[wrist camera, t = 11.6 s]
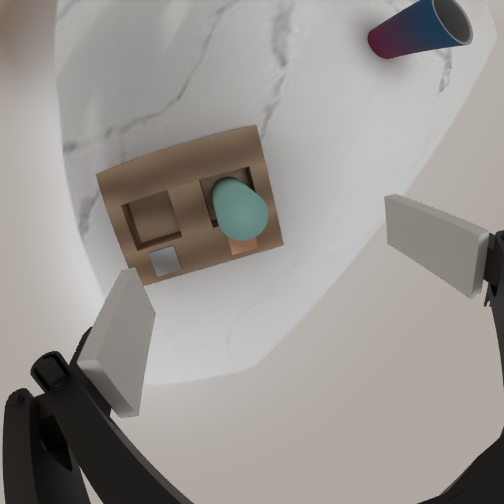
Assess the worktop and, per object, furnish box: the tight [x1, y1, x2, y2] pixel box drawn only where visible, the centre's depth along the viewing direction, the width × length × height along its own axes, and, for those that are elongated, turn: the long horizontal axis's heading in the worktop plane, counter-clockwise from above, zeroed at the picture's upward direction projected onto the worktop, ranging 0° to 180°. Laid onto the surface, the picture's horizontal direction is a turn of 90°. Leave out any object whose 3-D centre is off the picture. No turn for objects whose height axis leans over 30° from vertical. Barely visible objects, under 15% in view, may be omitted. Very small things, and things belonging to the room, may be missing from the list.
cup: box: [368, 0, 473, 59], centre depth 23 cm, size 7×7×15 cm
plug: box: [211, 176, 268, 241], centre depth 28 cm, size 4×4×12 cm
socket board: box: [96, 125, 283, 286], centre depth 32 cm, size 14×18×4 cm
